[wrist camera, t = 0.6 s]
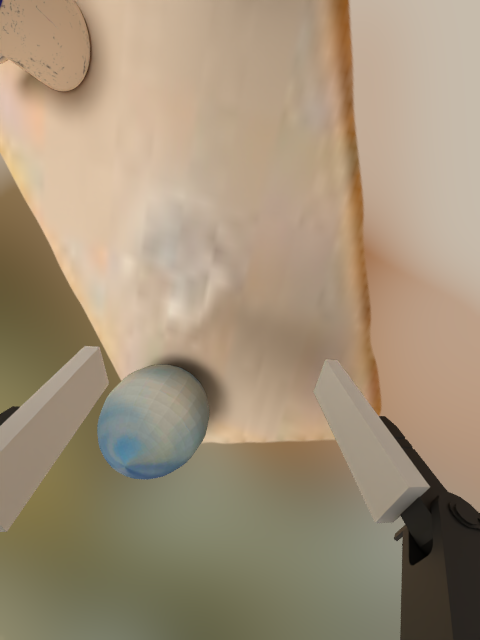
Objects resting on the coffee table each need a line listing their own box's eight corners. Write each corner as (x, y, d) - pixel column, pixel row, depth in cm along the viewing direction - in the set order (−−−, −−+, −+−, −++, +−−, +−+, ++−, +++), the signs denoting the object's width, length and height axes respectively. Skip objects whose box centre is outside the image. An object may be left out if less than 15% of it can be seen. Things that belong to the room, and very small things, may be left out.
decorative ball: (125, 369, 38) (41, 441, 25) (184, 332, 34) (122, 394, 20) (175, 426, 42) (126, 517, 28) (236, 398, 37) (213, 492, 23)
